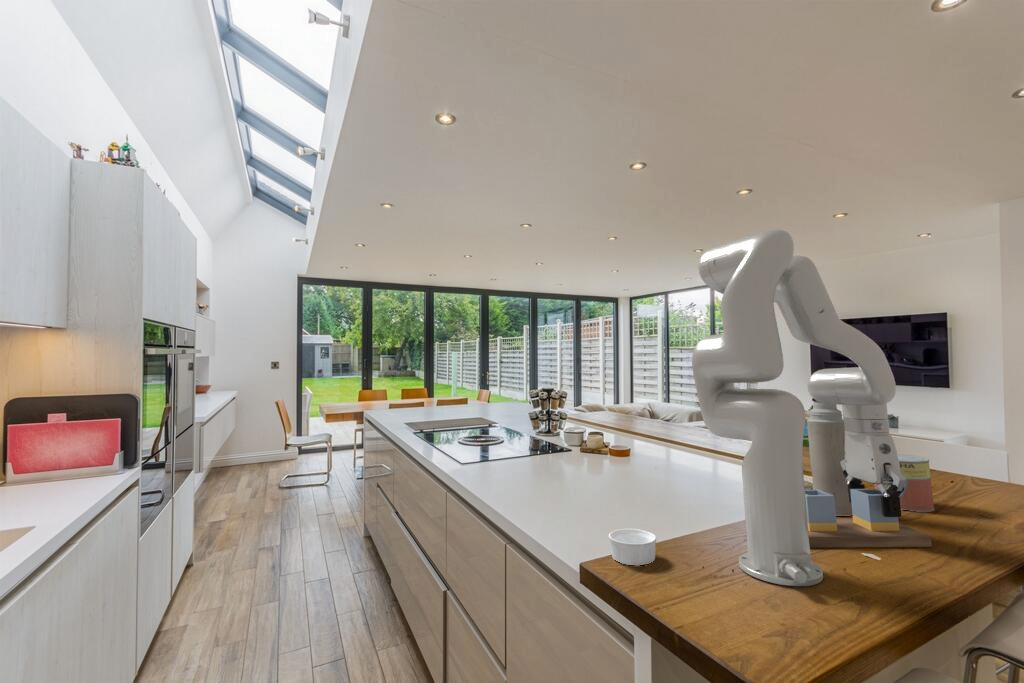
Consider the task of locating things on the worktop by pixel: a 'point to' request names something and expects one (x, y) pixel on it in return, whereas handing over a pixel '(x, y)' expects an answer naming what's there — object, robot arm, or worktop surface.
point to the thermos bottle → (828, 453)
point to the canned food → (915, 484)
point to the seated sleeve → (820, 511)
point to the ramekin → (632, 546)
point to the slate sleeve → (871, 511)
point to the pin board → (867, 537)
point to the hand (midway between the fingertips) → (874, 509)
